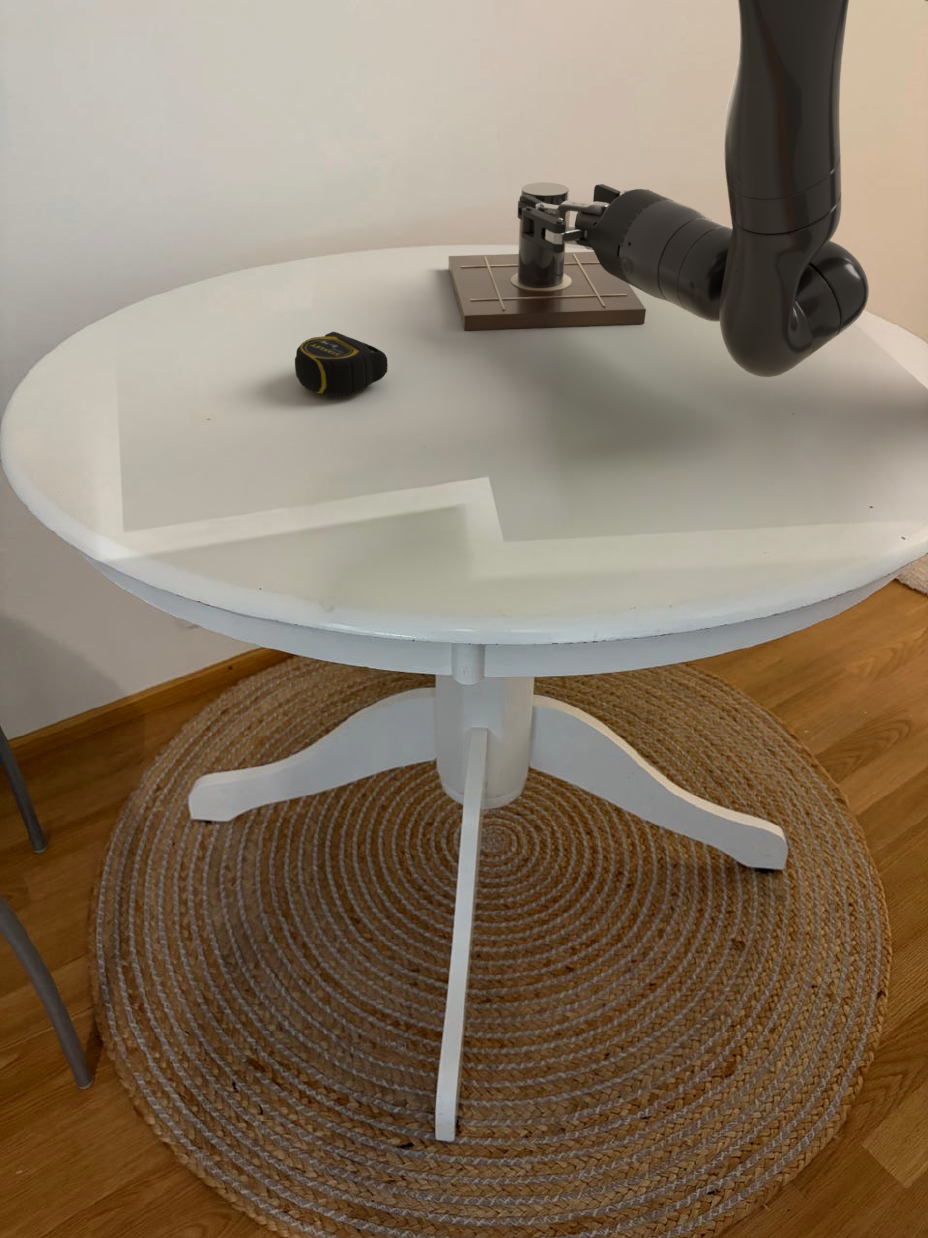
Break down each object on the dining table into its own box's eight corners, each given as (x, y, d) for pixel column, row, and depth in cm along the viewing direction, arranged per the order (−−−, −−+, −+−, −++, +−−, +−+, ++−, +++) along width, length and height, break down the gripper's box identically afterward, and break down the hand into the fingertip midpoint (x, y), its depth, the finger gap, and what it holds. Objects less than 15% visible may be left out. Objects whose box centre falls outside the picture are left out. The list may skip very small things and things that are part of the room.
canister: (558, 271, 102) (564, 181, 96) (566, 287, 98) (573, 194, 93) (514, 272, 102) (517, 182, 96) (520, 288, 98) (524, 195, 92)
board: (605, 264, 109) (606, 249, 108) (644, 323, 95) (646, 308, 94) (448, 269, 107) (448, 254, 106) (464, 330, 93) (464, 314, 92)
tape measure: (392, 386, 83) (391, 345, 81) (332, 411, 79) (329, 369, 77) (341, 364, 87) (338, 324, 85) (281, 387, 83) (276, 346, 81)
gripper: (732, 190, 82) (623, 150, 94) (593, 211, 77) (496, 167, 88) (717, 277, 87) (616, 230, 98) (586, 303, 82) (495, 250, 93)
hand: (559, 200), depth 93 cm, fingers open, 8 cm apart
